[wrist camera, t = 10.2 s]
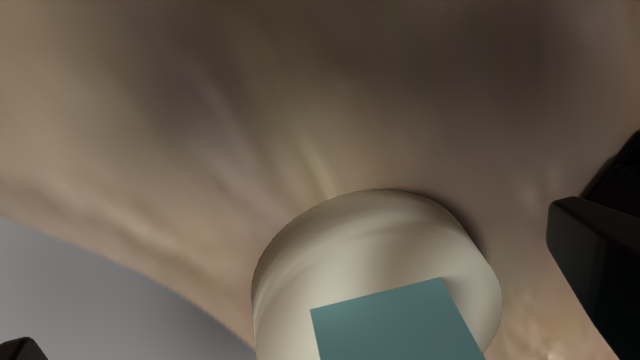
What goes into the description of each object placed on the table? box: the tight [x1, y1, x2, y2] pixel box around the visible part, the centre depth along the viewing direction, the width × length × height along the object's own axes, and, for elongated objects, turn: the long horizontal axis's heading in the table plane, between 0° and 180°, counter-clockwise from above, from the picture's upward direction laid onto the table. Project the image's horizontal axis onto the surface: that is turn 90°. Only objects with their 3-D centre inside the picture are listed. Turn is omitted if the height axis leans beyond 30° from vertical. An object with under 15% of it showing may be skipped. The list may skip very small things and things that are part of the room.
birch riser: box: [251, 189, 503, 360], centre depth 26 cm, size 12×12×4 cm
